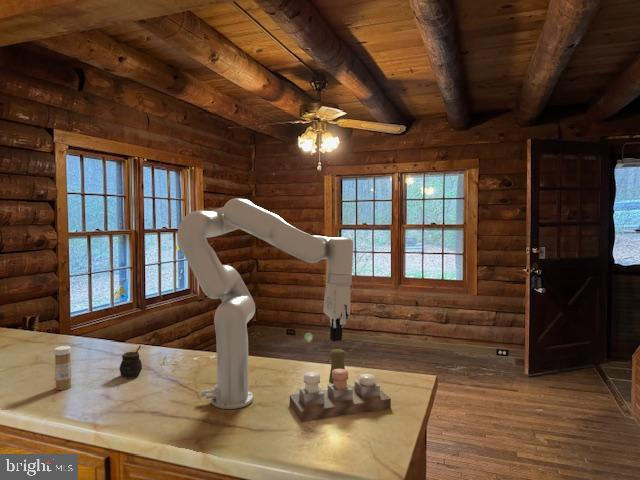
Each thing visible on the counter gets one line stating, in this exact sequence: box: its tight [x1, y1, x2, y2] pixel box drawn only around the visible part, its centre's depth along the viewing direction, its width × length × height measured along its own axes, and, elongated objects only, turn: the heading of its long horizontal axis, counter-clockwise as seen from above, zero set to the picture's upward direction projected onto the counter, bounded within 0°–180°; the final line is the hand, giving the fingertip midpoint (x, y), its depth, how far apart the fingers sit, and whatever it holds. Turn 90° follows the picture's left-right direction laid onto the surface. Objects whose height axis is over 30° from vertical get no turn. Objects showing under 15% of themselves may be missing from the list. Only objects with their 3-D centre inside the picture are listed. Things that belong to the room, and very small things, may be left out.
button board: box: [289, 380, 392, 423], centre depth 129 cm, size 28×12×6 cm, turn 110°
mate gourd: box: [119, 345, 143, 379], centre depth 152 cm, size 7×8×10 cm
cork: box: [328, 348, 346, 384], centre depth 149 cm, size 6×6×11 cm
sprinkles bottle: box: [53, 345, 72, 391], centre depth 140 cm, size 5×5×13 cm
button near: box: [303, 371, 321, 394], centre depth 126 cm, size 5×5×5 cm
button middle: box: [332, 368, 349, 390], centre depth 129 cm, size 5×5×5 cm
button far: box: [358, 373, 376, 386], centre depth 132 cm, size 5×5×5 cm
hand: (335, 340), depth 128 cm, fingers closed
